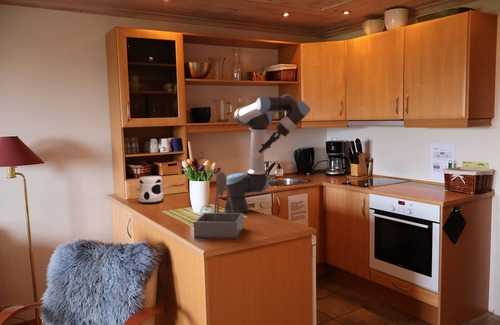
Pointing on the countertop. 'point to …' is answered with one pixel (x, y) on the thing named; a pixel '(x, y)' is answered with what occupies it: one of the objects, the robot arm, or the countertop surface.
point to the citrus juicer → (221, 193)
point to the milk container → (151, 189)
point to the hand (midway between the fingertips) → (256, 155)
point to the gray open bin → (218, 226)
